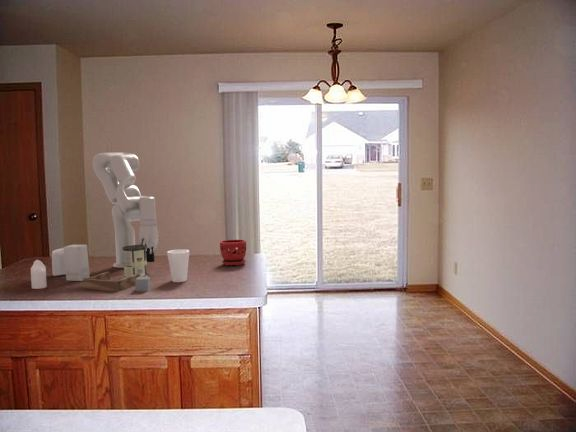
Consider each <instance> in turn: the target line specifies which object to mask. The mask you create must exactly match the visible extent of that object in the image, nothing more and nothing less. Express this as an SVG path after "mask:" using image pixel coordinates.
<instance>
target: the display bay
mask: <svg viewBox="0 0 576 432" xmlns="http://www.w3.org/2000/svg"><path fill="white" fill-rule="evenodd" d="M138 277H140V274H134V275H131V276H129V277H126V278H124V277H123V278H121V279H118V280H110V279H111V278H110V271H105V272H102V273H99V274H96V275H92V276H90V277H89V278H86V279H83V281H82V282H83V289H84V290H95V291H107V292H108V291H109V292H110V291H111V292H120V291H123V290H125V289H126V290H127V288H131V287H133V286H136V281H135V279H136V278H138Z"/></svg>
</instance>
